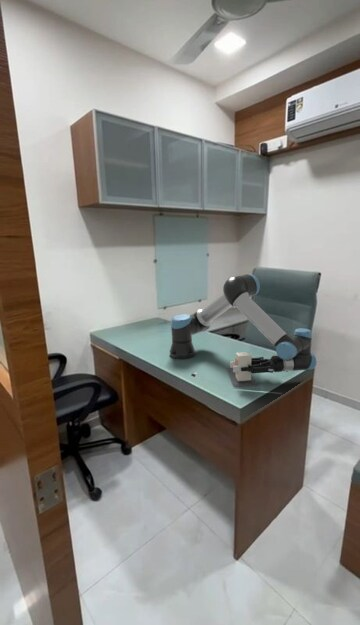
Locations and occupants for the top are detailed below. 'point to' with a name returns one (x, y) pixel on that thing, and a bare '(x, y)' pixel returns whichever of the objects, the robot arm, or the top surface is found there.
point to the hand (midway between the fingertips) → (232, 366)
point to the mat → (240, 383)
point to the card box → (243, 359)
